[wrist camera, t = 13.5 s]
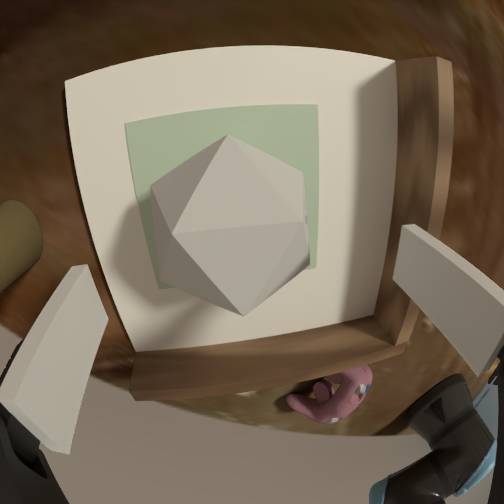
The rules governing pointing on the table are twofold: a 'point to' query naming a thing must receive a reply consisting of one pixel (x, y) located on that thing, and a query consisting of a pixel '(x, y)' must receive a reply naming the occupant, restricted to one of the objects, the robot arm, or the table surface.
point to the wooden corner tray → (316, 193)
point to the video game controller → (334, 396)
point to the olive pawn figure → (17, 241)
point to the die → (230, 225)
